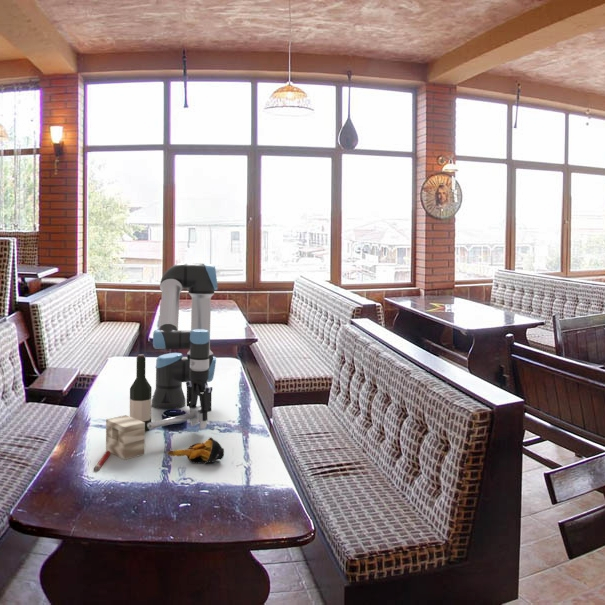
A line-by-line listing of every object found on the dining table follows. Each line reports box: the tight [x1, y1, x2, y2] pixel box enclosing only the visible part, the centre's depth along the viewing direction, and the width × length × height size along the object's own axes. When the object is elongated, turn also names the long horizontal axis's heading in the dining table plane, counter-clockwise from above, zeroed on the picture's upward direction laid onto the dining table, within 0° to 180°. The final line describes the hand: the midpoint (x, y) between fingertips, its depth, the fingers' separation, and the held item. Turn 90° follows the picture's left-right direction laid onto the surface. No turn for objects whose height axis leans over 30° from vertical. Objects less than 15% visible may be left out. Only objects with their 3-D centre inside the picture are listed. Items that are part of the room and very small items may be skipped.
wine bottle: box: [129, 353, 153, 432], centre depth 246 cm, size 8×8×30 cm
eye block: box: [105, 414, 146, 461], centre depth 220 cm, size 12×9×12 cm
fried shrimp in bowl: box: [166, 437, 225, 464], centre depth 213 cm, size 9×11×18 cm
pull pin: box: [147, 405, 209, 430], centre depth 237 cm, size 5×26×5 cm, turn 138°
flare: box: [93, 451, 111, 472], centre depth 211 cm, size 2×15×2 cm, turn 3°
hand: (198, 426), depth 245 cm, fingers closed on pull pin, 5 cm apart
